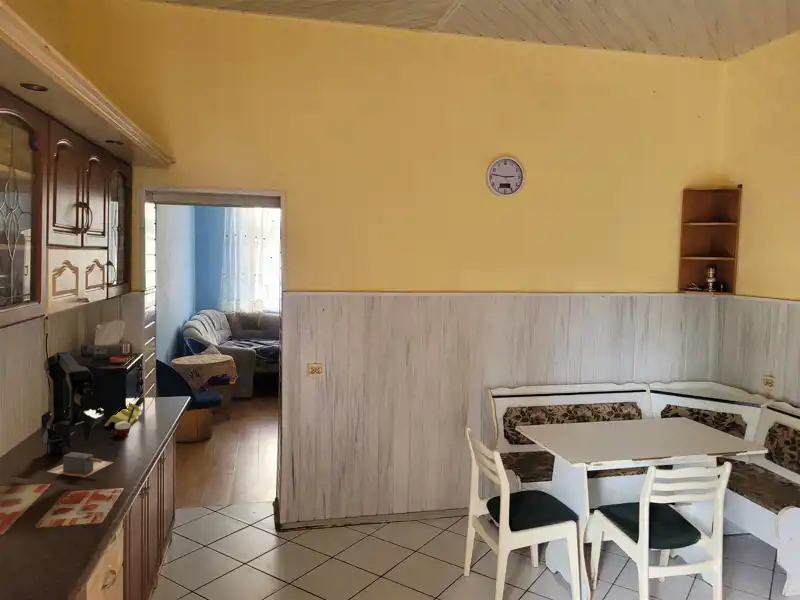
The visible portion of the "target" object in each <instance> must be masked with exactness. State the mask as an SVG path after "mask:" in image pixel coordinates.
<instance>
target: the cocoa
mask: <svg viewBox="0 0 800 600" xmlns="http://www.w3.org/2000/svg"><path fill="white" fill-rule="evenodd" d="M134 409H135V408H134V407H133V408H132V411H131V413H130V416H129V419H128V421H127V422H124V421H121V422H119V423H117V424H116V423H114V428H113V429H111V433H112V435H114V436H118V437H126V436H128V435H129V433H130V430H131V425H130V423H129V422H130V419H131V417H132V414H133V412H134Z"/></svg>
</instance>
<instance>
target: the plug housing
mask: <svg viewBox="0 0 800 600" xmlns="http://www.w3.org/2000/svg"><path fill="white" fill-rule="evenodd" d="M62 458H63V459H62V460H63V461H62V464H63V472H69V473H77V474H84V475H85V474H87V473H89V472H91V471H93V462H98V463H102V461H103V459H101V458H94V454H91V453H83V452H77V451H71V452H67V453H66V454H63V455H62Z"/></svg>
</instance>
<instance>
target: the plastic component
mask: <svg viewBox="0 0 800 600" xmlns="http://www.w3.org/2000/svg"><path fill="white" fill-rule="evenodd" d="M133 407H134V408H135V409H134V412H133V414H132V417H131V419H130V422H129V423H130V426H131V425H132V424H133V423H134V422H135V420H136V419H137V417H138V416H139V414H140V413H141V409H140V408H139V406H138V405H135V404H133V403H132V402H129V406H128V408H127V409H122V410H121V411H120V412H118V411H117V412H118V413H117V412H116V413H117V414H116V413H115V414H116V415H115V414H114V415H112V416H110V418H109V419H108V420H107V422H106V423H105V424H104V427H106V426H107V427H108V426H110V424H111V423H114V424H117V423H119V422H121V421H124V422H127V421H128V419H129V416H130V413H131V411H132V408H133ZM127 410H128V411H127Z"/></svg>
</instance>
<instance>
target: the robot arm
mask: <svg viewBox="0 0 800 600" xmlns="http://www.w3.org/2000/svg"><path fill="white" fill-rule="evenodd" d="M43 370H44V372H45V375H46V376H47V378H48V379H49V381H50V412H51V413H50V414H51V415H50V418H49V420H48V421H47V423H46V429H44V433H43V435H42V442H43V443H44V444H45V445H46V454H48V455H50V456H64V455H66V454H68V449H72V444H73V435H74V434H75V433H76V430H75V429H76V426H78V425H80V424H81V426H82V432H83V437H84V440H85V441H87V442H88V441H90V438H91V435H92V432H93V429H94V427H95V426H96V425H97V424H101V421H102V420H103V419H104V418H105V410H104V409H103V408H101V407H100V408H97V409H92V408H94V407H95V406H96V404H97V402H98V398H97V396H96V394H95V393H93V392H92V389H94V388H95V384H96V383H95V380H94V376H93V374H92V372H91V371H90V369H89V368H88V367H86V366H85V365H84V366H83V365H80V364H79V363H78V362H77V361H76V359H74V357H73V356H72V353H71V352H70V351H57V352H55V353H54V355H53V354H52V355H50V356H49V357H47V358H46V359H45V361H44V362H43ZM65 380H66V383H67V386H68V388H69V405H67V406H66V409H67V410H69V416H67V417H66V416H65Z"/></svg>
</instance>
